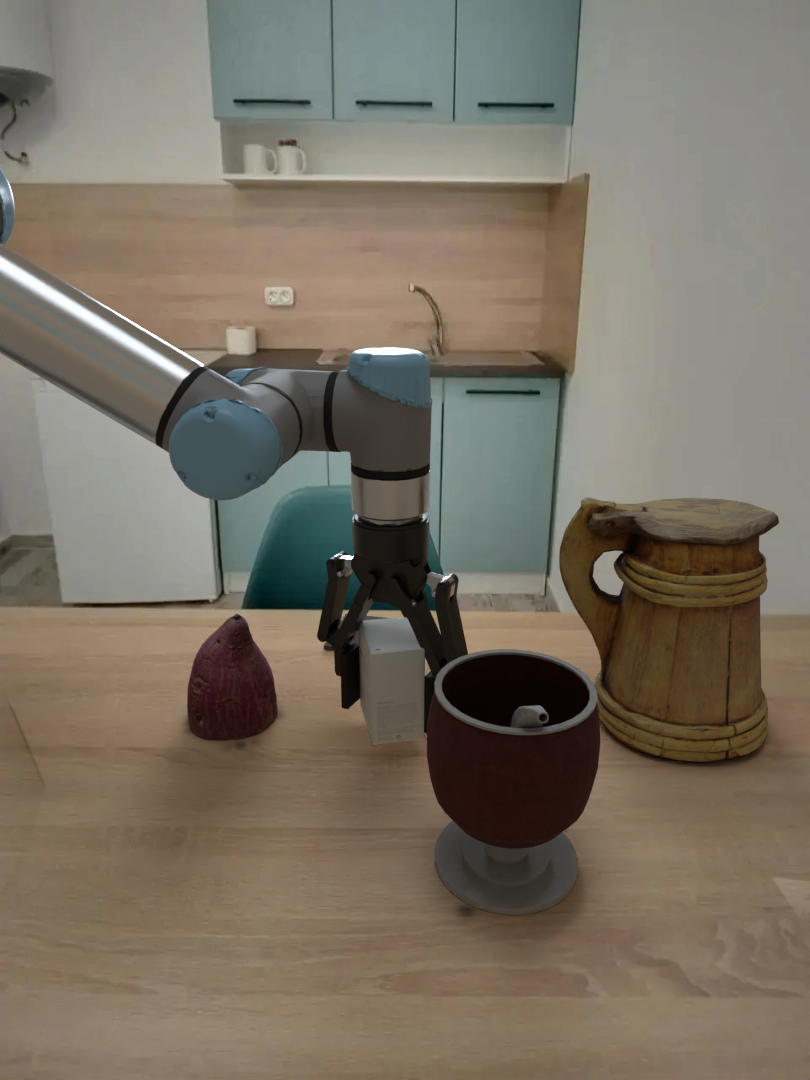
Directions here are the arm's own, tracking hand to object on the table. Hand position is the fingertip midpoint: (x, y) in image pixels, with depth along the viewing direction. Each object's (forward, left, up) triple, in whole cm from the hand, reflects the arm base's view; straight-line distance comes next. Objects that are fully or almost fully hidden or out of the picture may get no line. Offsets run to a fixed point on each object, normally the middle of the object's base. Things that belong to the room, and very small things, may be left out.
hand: (391, 714), depth 88 cm
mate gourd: (+18, -12, -3) cm, 22 cm away
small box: (0, 0, -1) cm, 1 cm away
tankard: (+24, +18, -3) cm, 30 cm away
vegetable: (-18, -4, -3) cm, 19 cm away
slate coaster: (-14, +20, -3) cm, 25 cm away
